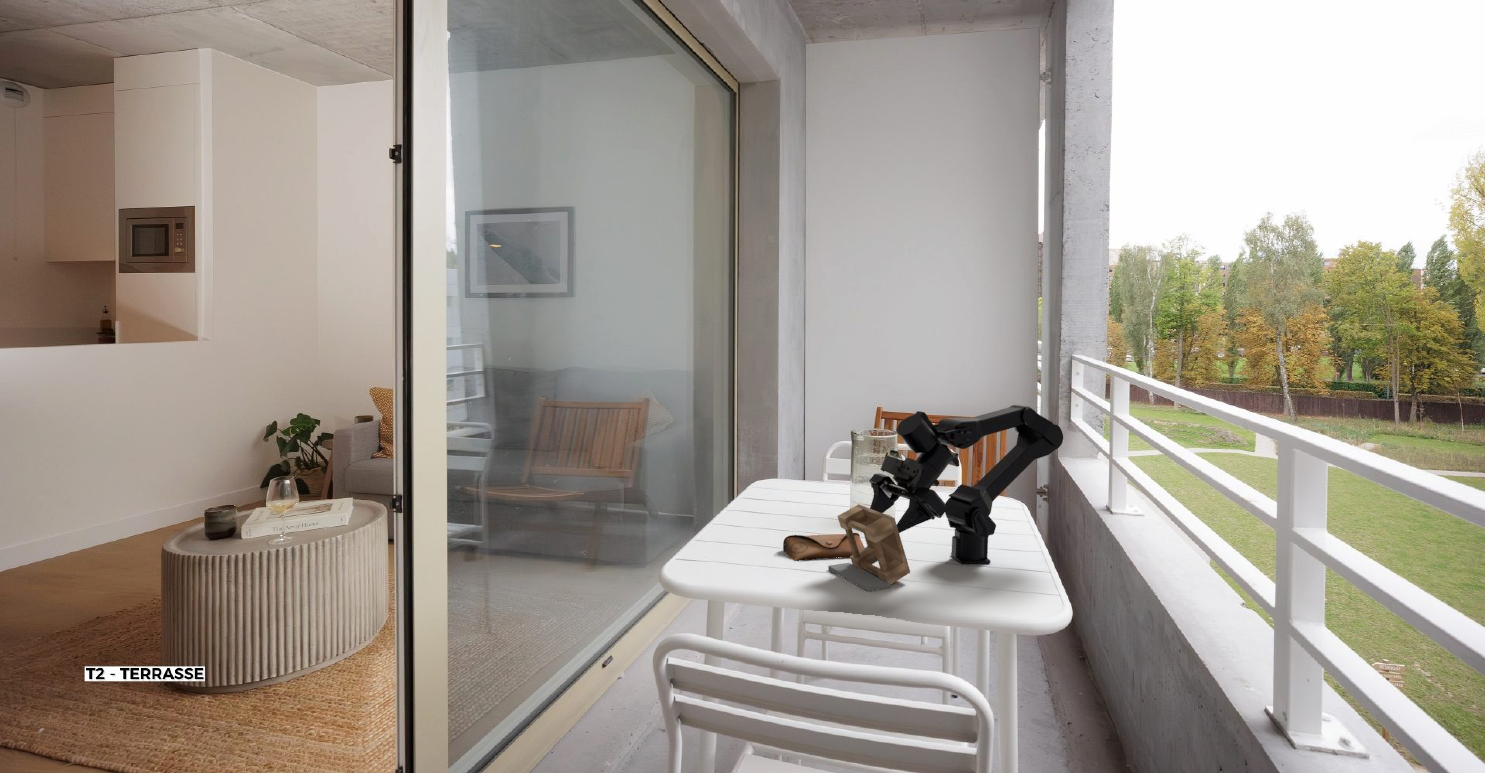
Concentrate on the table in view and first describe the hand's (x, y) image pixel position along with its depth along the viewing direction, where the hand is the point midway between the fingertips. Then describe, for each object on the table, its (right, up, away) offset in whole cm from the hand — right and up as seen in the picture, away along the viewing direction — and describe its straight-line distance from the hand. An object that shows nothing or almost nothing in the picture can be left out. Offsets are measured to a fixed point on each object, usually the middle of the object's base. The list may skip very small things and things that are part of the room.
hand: (881, 526), depth 155 cm
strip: (-5, -10, -1) cm, 11 cm away
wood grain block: (0, -9, +1) cm, 9 cm away
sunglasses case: (-9, -9, +15) cm, 20 cm away
